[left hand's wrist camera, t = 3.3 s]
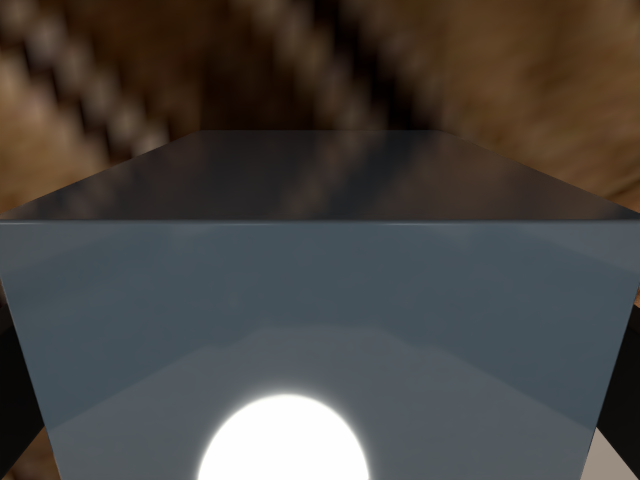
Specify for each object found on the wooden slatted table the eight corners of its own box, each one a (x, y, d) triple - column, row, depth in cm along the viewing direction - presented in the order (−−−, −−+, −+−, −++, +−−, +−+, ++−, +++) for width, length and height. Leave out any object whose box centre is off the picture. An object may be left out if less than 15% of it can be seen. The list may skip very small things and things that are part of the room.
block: (220, 341, 18) (107, 636, 8) (198, 129, 15) (-20, 220, 5) (420, 341, 18) (533, 637, 8) (441, 129, 15) (661, 220, 5)
